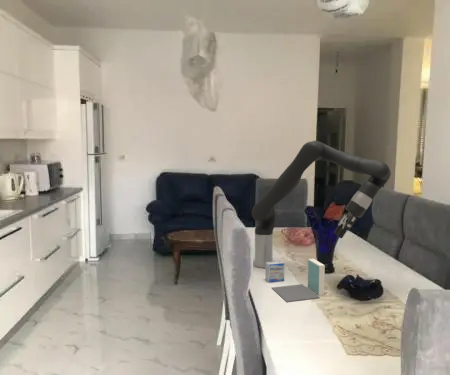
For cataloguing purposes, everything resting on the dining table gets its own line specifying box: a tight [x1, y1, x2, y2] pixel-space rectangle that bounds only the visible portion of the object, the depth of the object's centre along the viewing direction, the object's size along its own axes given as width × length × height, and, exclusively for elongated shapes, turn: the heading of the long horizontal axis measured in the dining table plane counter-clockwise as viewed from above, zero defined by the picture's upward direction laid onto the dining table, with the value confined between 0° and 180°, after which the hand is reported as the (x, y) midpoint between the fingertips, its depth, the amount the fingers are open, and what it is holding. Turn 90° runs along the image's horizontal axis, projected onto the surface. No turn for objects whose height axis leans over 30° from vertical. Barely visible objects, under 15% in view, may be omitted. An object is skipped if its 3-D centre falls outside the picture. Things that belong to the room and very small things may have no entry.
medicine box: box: [264, 260, 285, 283], centre depth 194 cm, size 8×4×9 cm, turn 105°
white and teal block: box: [307, 258, 326, 296], centre depth 180 cm, size 10×3×13 cm, turn 16°
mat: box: [271, 283, 320, 303], centre depth 178 cm, size 16×15×1 cm
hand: (337, 235), depth 177 cm, fingers open, 8 cm apart
